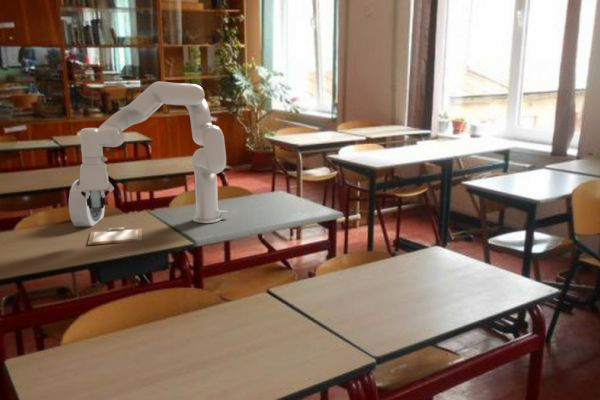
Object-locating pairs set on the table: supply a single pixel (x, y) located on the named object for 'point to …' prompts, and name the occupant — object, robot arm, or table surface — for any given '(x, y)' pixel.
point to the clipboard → (115, 236)
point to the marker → (95, 200)
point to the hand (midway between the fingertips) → (96, 207)
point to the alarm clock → (82, 209)
